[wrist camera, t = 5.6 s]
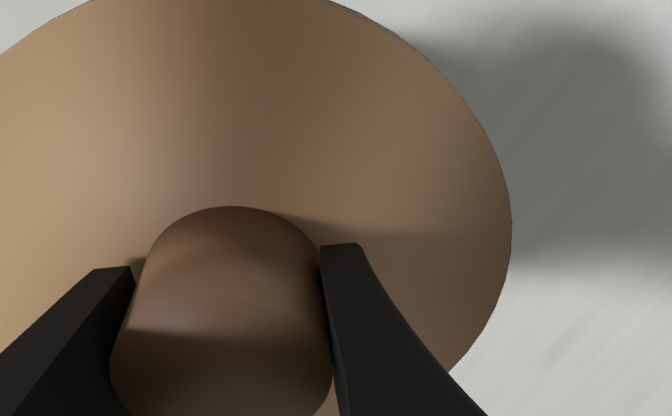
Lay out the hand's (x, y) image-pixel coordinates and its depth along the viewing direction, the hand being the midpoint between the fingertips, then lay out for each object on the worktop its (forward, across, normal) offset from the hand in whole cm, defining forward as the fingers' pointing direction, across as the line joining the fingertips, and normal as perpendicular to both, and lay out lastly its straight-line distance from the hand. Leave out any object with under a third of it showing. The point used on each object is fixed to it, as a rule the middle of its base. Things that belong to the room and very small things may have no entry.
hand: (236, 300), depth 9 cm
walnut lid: (+1, 0, 0) cm, 1 cm away
